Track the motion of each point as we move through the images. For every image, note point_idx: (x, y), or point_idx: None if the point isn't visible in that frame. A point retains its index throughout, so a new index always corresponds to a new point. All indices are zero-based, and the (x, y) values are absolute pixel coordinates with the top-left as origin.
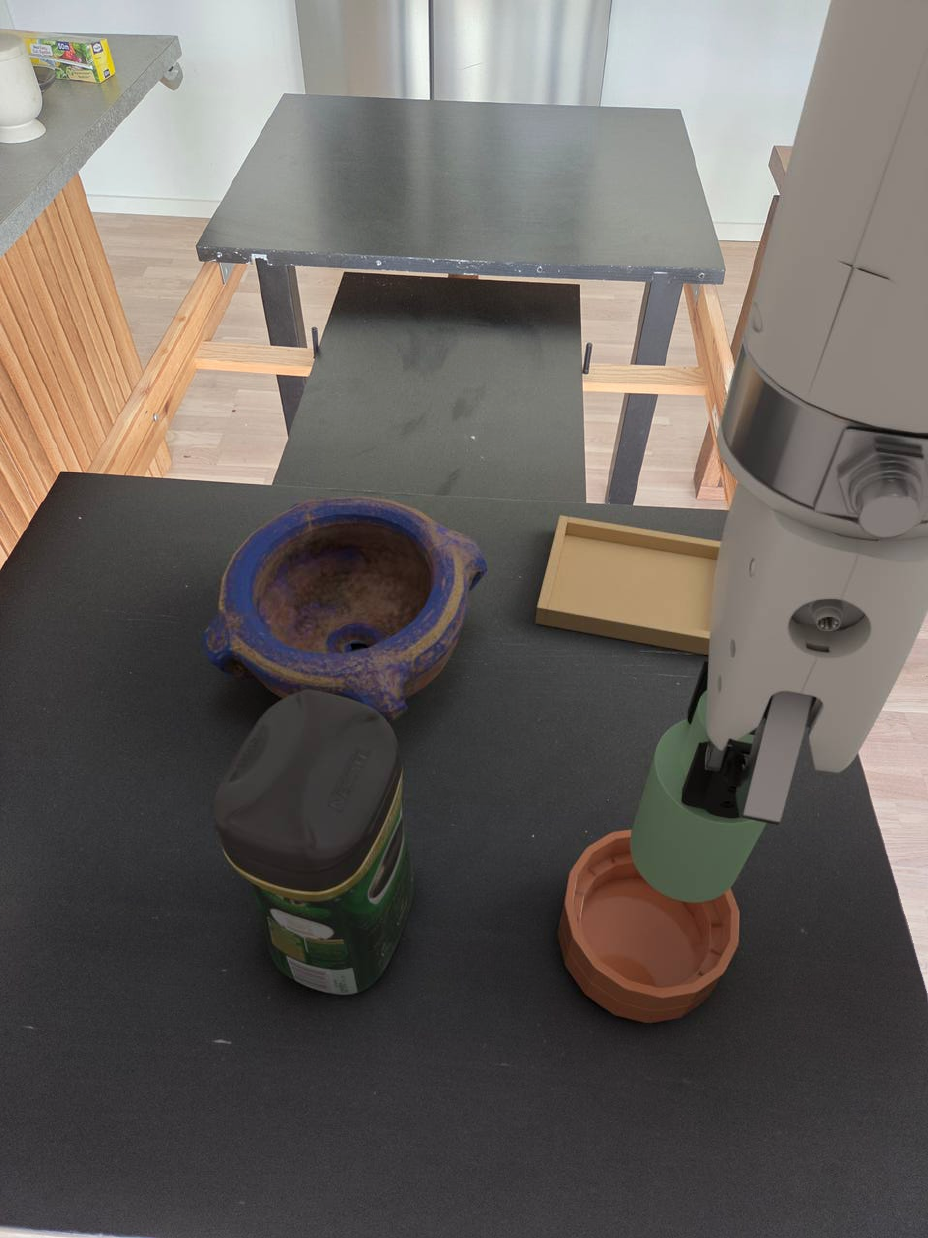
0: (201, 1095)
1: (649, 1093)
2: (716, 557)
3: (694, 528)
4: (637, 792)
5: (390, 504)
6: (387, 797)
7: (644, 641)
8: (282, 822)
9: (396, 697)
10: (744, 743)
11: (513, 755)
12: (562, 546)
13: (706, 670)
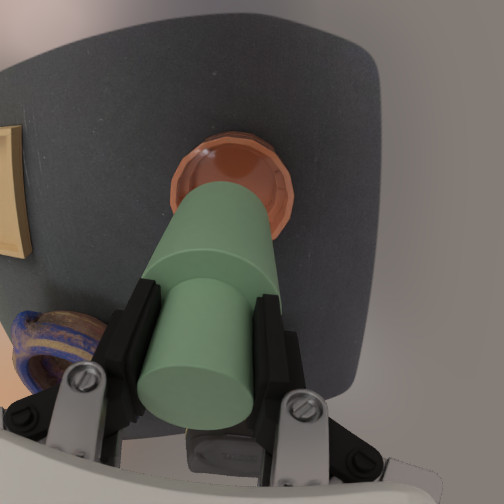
0: (318, 361)
1: (322, 180)
2: None
3: None
4: (127, 181)
5: (17, 371)
6: (242, 432)
7: (22, 183)
8: None
9: None
10: (268, 438)
11: (121, 259)
12: None
13: (136, 421)
